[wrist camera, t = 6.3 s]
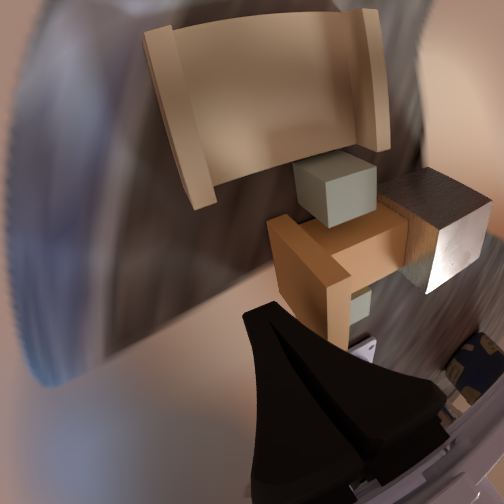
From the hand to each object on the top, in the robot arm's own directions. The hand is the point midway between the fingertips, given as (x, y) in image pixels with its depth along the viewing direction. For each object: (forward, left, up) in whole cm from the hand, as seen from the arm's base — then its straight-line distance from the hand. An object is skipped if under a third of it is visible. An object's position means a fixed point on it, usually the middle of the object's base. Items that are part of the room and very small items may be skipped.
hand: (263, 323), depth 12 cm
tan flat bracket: (+8, -3, -4) cm, 9 cm away
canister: (-33, -31, -4) cm, 46 cm away
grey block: (0, -10, -4) cm, 11 cm away
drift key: (0, -5, -4) cm, 7 cm away
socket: (0, -5, -4) cm, 6 cm away
